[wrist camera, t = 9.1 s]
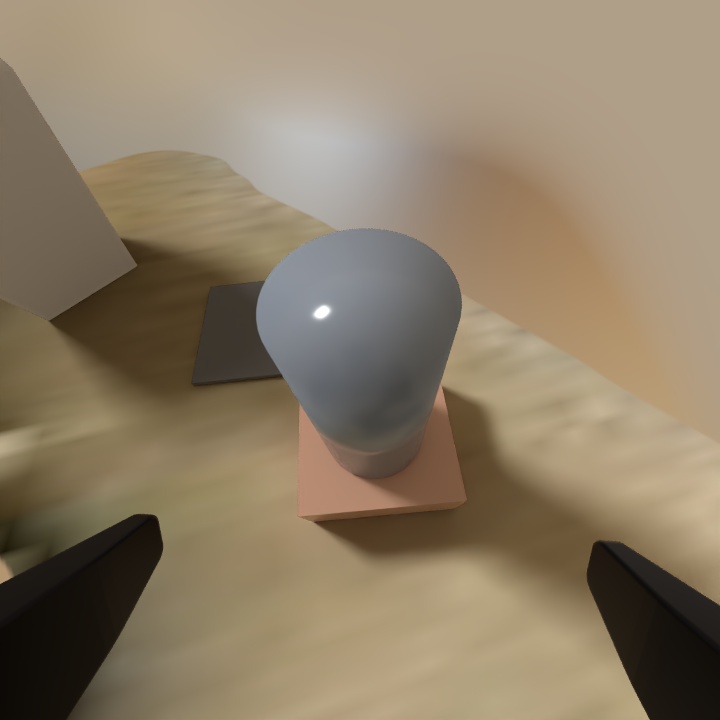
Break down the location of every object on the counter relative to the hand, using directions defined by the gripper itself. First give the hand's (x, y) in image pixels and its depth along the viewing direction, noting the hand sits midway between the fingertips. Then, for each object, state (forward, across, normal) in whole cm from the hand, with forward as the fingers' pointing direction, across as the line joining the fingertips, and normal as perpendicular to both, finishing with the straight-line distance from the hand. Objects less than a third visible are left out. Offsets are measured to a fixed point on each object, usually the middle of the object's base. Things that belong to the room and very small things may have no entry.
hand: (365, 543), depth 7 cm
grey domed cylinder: (+10, 0, +3) cm, 11 cm away
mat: (+19, +9, -1) cm, 21 cm away
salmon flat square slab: (+13, 0, +5) cm, 14 cm away
